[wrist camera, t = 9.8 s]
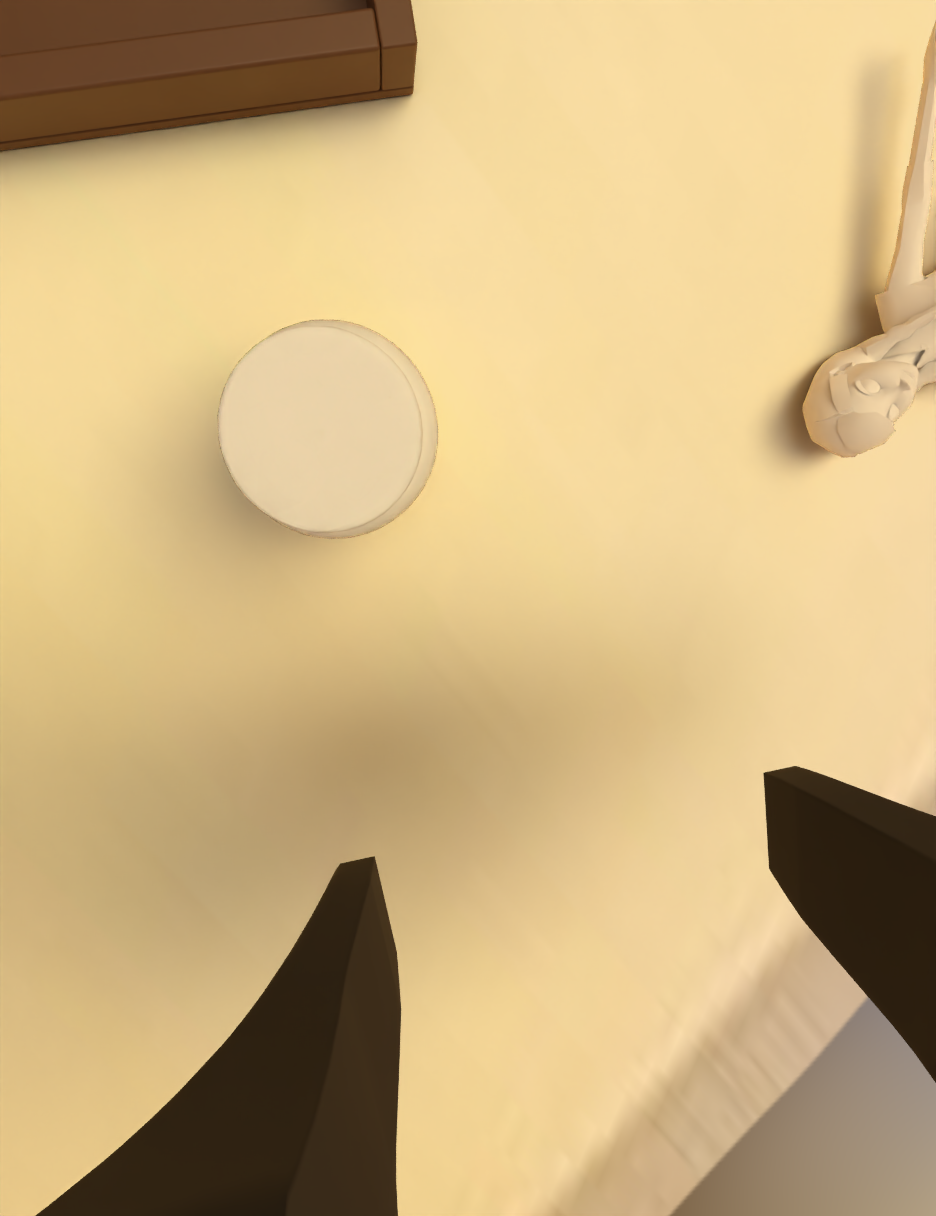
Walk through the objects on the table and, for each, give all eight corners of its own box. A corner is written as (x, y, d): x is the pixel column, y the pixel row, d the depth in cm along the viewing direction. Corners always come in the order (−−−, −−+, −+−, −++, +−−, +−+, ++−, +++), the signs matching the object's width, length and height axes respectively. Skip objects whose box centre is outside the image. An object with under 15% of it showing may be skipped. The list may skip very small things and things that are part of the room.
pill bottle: (234, 381, 19) (135, 351, 11) (389, 322, 19) (393, 251, 11) (302, 535, 20) (255, 599, 12) (447, 478, 20) (487, 508, 12)
